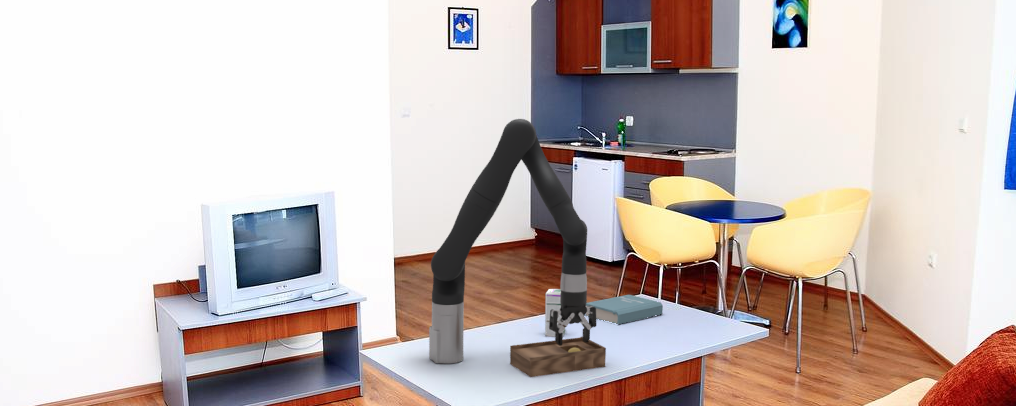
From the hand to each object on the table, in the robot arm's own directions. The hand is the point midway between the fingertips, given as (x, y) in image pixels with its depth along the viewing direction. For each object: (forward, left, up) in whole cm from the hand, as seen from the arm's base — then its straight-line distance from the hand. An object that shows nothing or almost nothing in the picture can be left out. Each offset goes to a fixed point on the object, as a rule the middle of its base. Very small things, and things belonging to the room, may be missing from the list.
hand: (572, 343), depth 257 cm
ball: (+1, 0, -4) cm, 4 cm away
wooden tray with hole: (-5, 0, -6) cm, 8 cm away
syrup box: (+10, +30, -6) cm, 32 cm away
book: (+45, +43, -7) cm, 62 cm away
